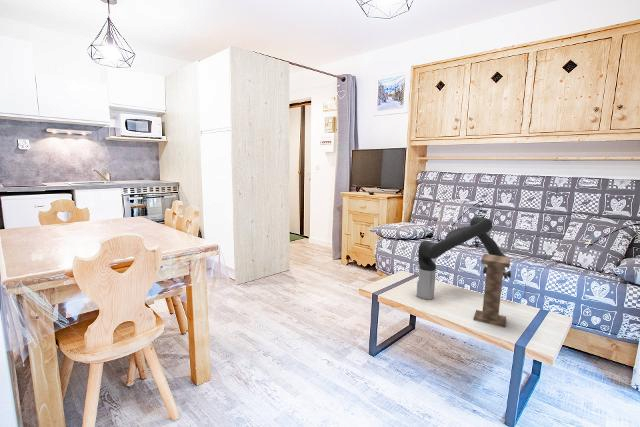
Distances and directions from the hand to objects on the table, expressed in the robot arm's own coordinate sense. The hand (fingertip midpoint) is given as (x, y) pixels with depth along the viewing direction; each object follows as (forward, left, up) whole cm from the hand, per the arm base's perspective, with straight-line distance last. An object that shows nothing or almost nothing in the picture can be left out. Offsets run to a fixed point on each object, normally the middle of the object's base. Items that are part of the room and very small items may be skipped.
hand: (496, 275), depth 186 cm
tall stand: (0, -27, -16) cm, 31 cm away
